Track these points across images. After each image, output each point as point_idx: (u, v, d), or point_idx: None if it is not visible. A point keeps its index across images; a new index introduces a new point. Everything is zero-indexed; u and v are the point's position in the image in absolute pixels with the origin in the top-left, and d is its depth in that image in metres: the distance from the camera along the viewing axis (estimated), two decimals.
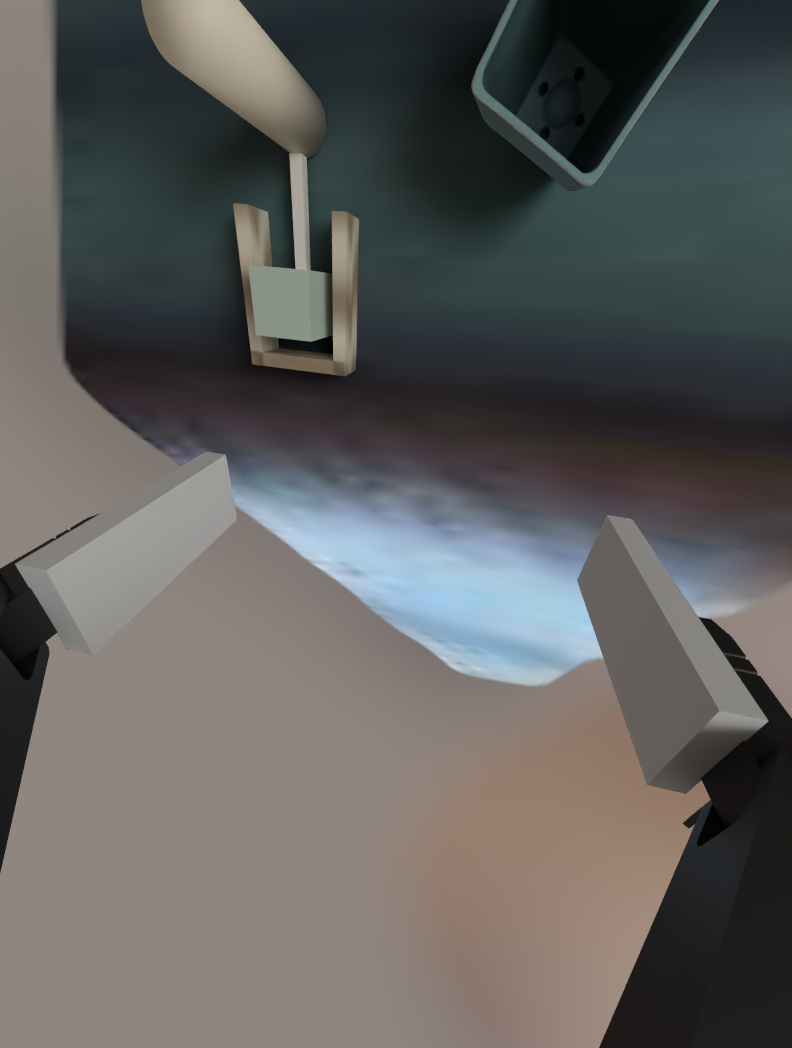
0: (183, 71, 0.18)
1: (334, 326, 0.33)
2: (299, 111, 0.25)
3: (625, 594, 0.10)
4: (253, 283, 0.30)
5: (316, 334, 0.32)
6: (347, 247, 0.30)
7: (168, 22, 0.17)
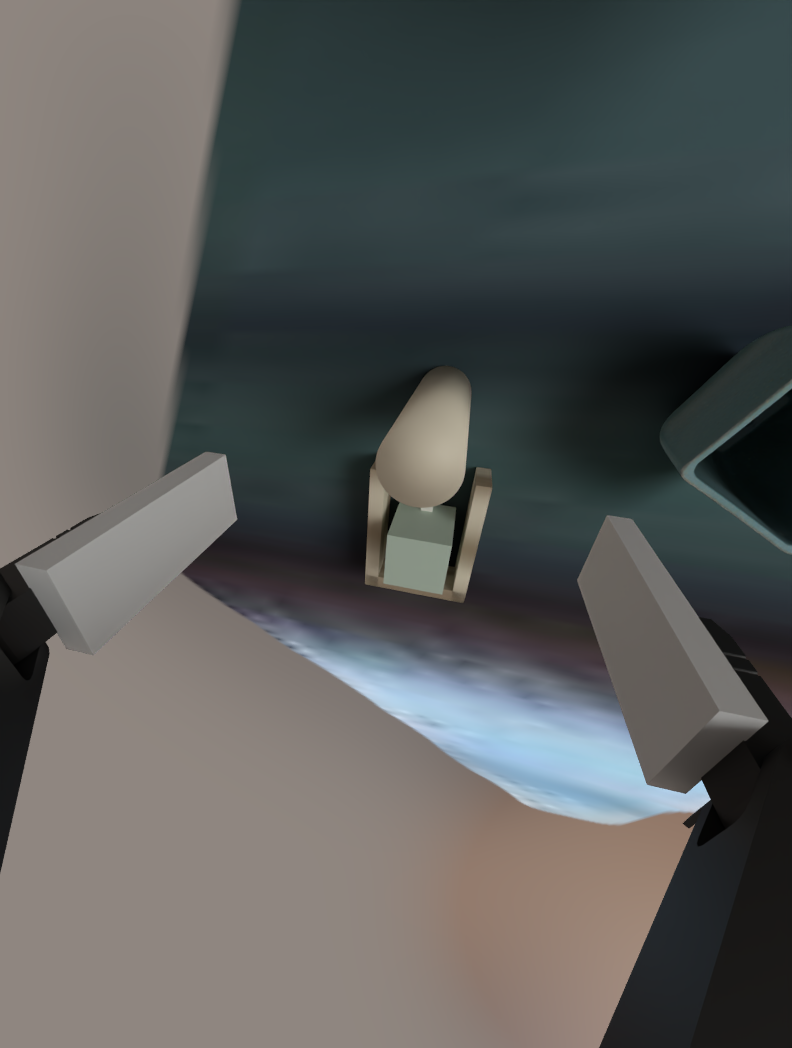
0: (406, 504, 0.18)
1: (459, 566, 0.32)
2: None
3: (625, 594, 0.10)
4: (389, 548, 0.29)
5: None
6: (485, 511, 0.29)
7: (401, 474, 0.17)
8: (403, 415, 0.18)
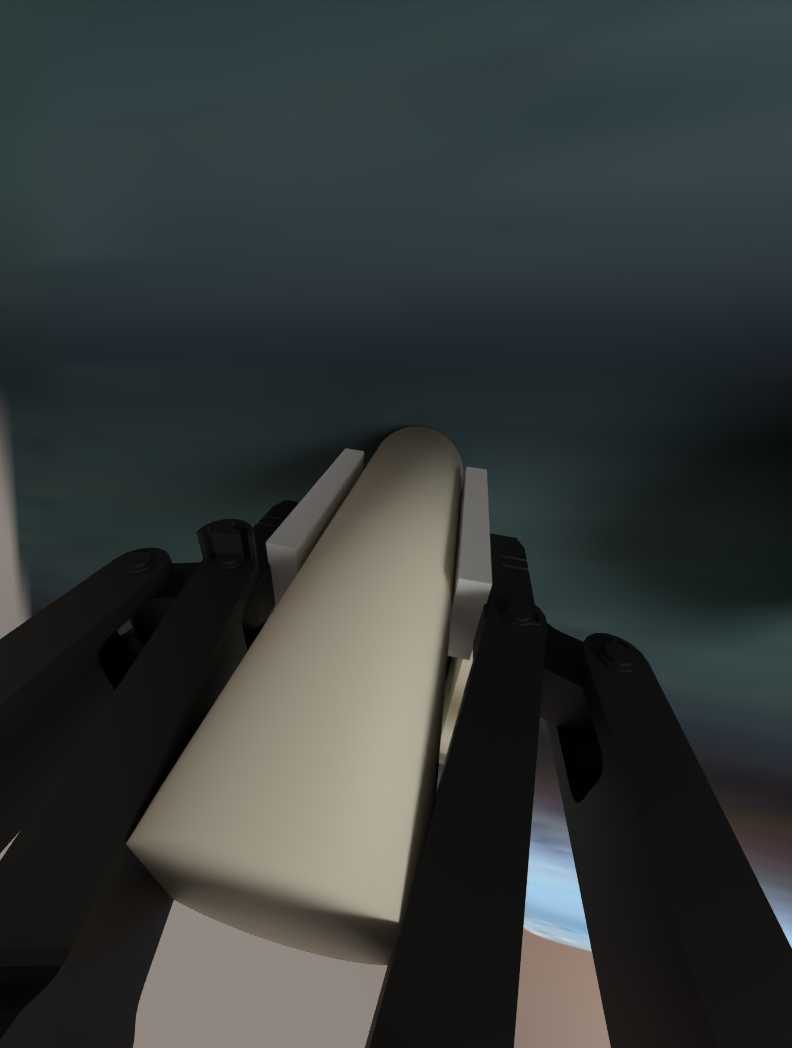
0: (257, 934, 0.06)
1: (446, 726, 0.21)
2: None
3: (459, 523, 0.12)
4: None
5: None
6: None
7: (217, 901, 0.05)
8: (250, 666, 0.06)
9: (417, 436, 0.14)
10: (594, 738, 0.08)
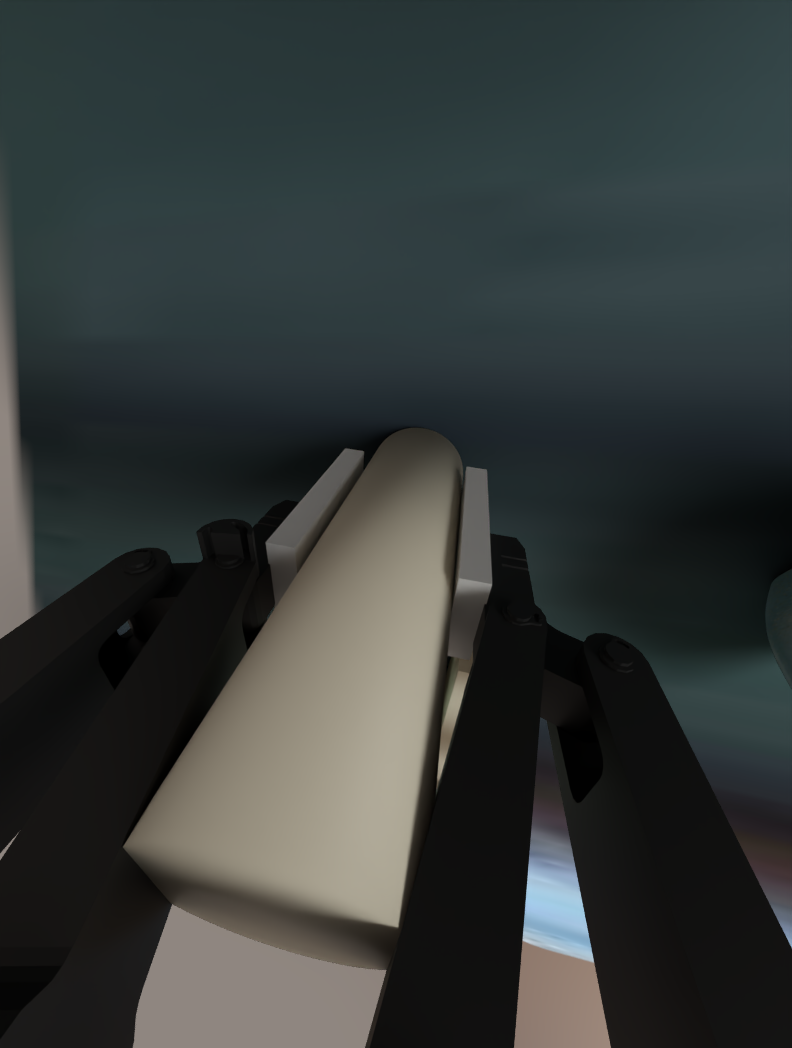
0: (255, 938, 0.06)
1: None
2: None
3: (459, 523, 0.12)
4: None
5: None
6: None
7: (214, 905, 0.05)
8: (250, 667, 0.06)
9: (417, 437, 0.14)
10: (594, 738, 0.08)
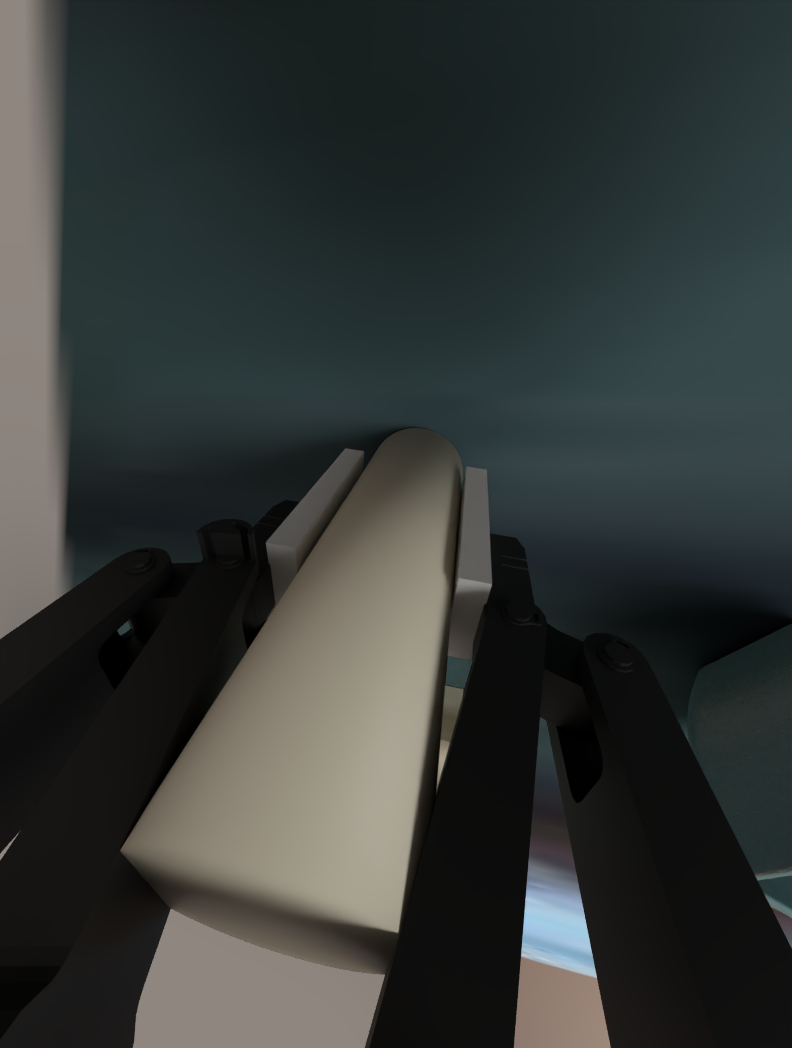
0: (254, 942, 0.06)
1: None
2: None
3: (459, 523, 0.12)
4: None
5: None
6: None
7: (212, 910, 0.05)
8: (248, 669, 0.06)
9: (417, 437, 0.14)
10: (594, 738, 0.08)
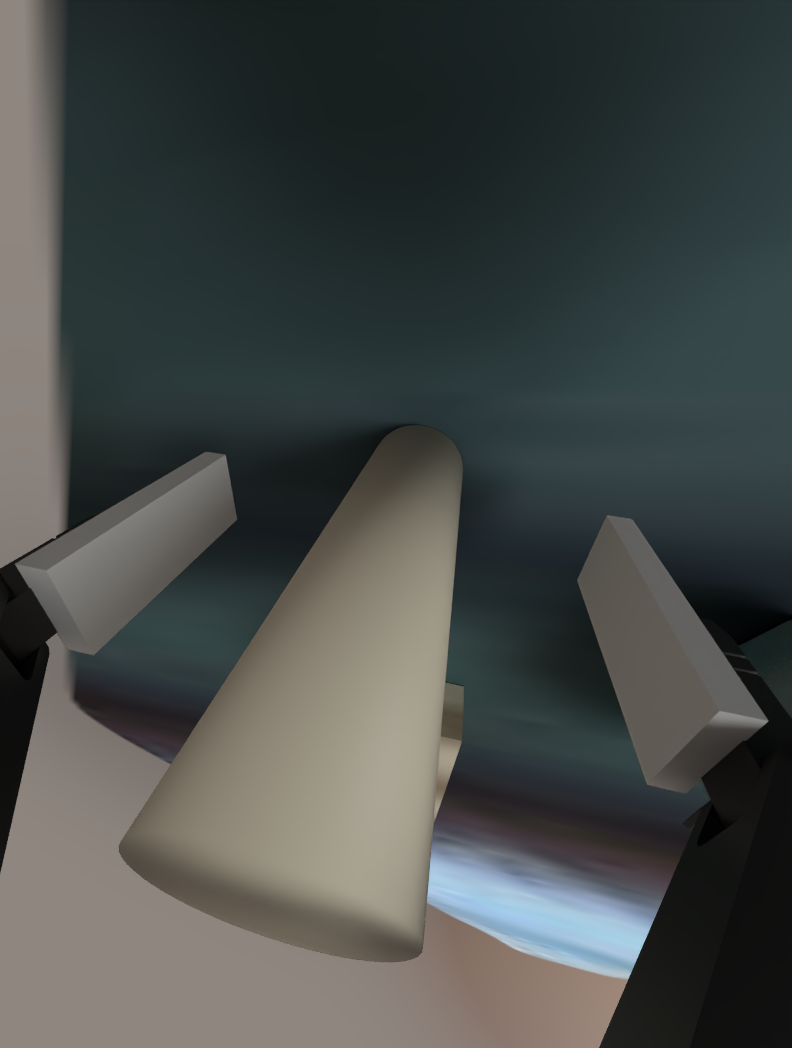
0: (257, 931, 0.06)
1: None
2: None
3: (625, 594, 0.10)
4: None
5: None
6: (455, 757, 0.22)
7: (216, 897, 0.05)
8: (250, 662, 0.06)
9: (417, 434, 0.14)
10: None
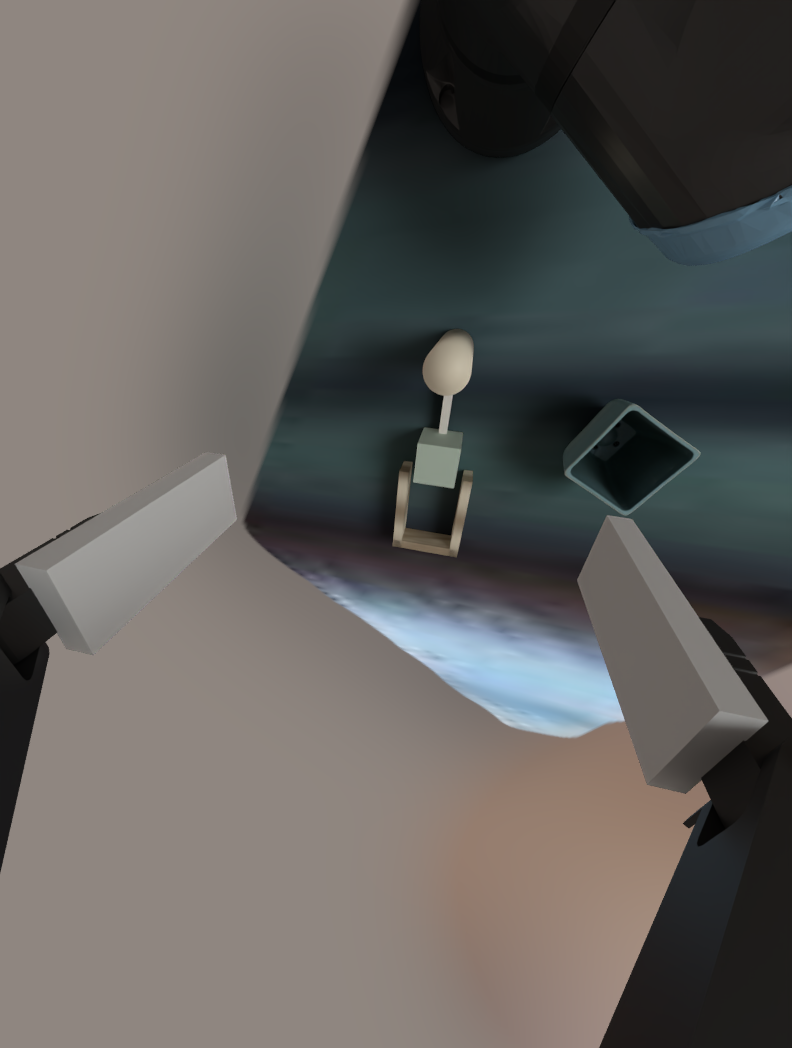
0: (438, 393, 0.32)
1: (453, 532, 0.51)
2: None
3: (625, 594, 0.10)
4: (418, 453, 0.43)
5: None
6: None
7: (436, 374, 0.31)
8: (436, 344, 0.32)
9: (457, 329, 0.40)
10: None
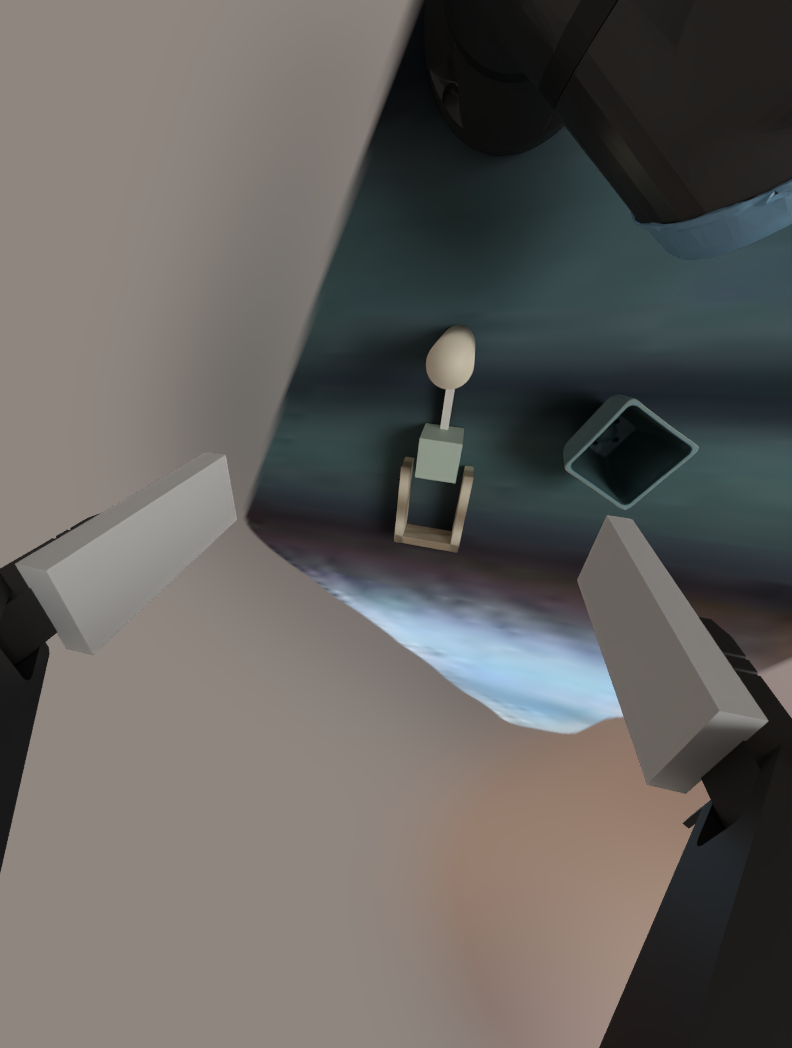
0: (441, 387, 0.32)
1: (454, 527, 0.52)
2: None
3: (625, 594, 0.10)
4: (420, 448, 0.44)
5: None
6: None
7: (439, 368, 0.31)
8: (439, 339, 0.32)
9: (459, 325, 0.41)
10: None
